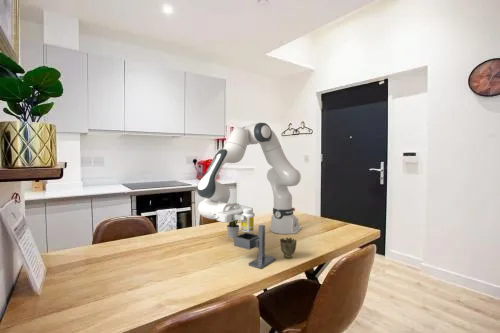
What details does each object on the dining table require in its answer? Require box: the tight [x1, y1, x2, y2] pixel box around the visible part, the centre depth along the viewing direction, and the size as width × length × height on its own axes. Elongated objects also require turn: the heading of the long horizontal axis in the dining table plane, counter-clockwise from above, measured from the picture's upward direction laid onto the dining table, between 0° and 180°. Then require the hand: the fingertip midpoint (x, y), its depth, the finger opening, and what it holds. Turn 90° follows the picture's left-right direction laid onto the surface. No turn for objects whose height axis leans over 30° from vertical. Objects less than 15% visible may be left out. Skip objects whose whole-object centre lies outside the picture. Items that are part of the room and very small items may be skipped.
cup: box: [279, 237, 298, 259], centre depth 122 cm, size 8×7×8 cm
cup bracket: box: [233, 224, 277, 270], centre depth 118 cm, size 12×15×16 cm
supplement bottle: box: [241, 208, 255, 233], centre depth 120 cm, size 5×5×10 cm
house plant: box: [226, 220, 242, 239], centre depth 153 cm, size 14×14×16 cm
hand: (249, 216), depth 119 cm, fingers closed on supplement bottle, 5 cm apart
